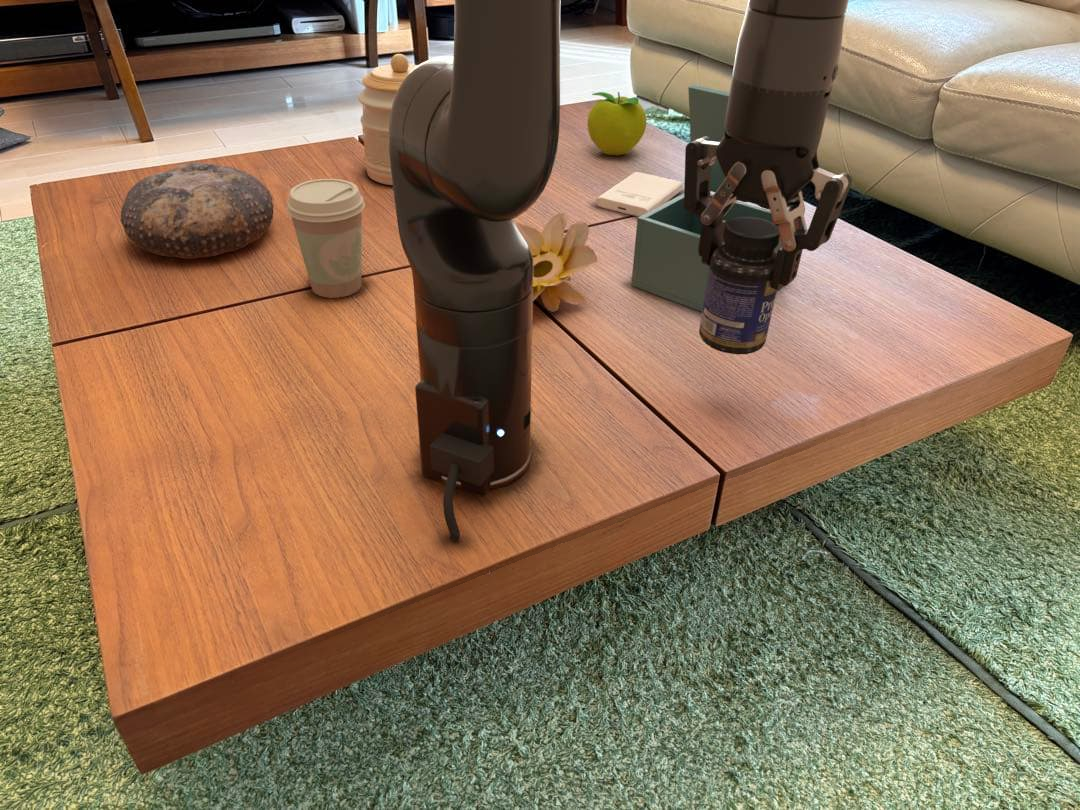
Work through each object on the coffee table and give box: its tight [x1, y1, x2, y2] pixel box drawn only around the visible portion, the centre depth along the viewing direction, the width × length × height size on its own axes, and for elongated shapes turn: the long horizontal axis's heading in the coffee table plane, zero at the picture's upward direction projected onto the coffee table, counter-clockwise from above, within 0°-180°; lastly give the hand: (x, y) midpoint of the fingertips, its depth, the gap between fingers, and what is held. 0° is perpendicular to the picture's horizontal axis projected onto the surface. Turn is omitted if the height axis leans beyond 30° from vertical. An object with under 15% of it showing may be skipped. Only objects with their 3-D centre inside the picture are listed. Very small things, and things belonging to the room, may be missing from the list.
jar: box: [357, 53, 419, 186], centre depth 126 cm, size 13×13×18 cm
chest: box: [630, 192, 782, 313], centre depth 100 cm, size 13×14×9 cm
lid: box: [687, 83, 787, 206], centre depth 97 cm, size 13×14×5 cm
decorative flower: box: [514, 212, 598, 313], centre depth 97 cm, size 15×11×10 cm
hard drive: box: [596, 171, 684, 218], centre depth 124 cm, size 2×8×12 cm
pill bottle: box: [698, 217, 780, 355], centre depth 74 cm, size 6×6×11 cm
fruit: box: [587, 91, 647, 157], centre depth 138 cm, size 9×9×10 cm
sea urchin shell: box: [120, 162, 275, 259], centre depth 108 cm, size 19×19×10 cm
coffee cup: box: [286, 178, 366, 299], centre depth 96 cm, size 8×8×12 cm
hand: (744, 273), depth 73 cm, fingers closed on pill bottle, 6 cm apart
